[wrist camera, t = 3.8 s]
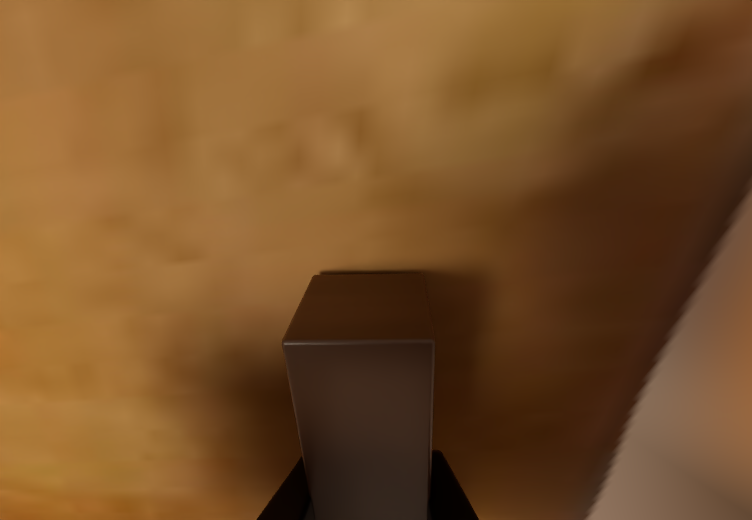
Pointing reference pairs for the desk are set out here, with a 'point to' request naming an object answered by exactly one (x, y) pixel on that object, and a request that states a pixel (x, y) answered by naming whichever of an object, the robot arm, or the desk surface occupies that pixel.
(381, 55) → the desk surface
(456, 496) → the robot arm
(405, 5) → the desk surface
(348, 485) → the dark brown rectangular block
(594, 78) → the desk surface
